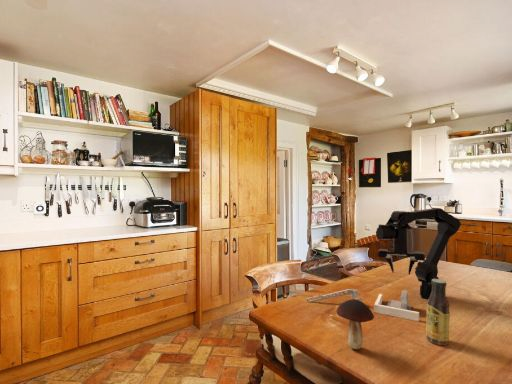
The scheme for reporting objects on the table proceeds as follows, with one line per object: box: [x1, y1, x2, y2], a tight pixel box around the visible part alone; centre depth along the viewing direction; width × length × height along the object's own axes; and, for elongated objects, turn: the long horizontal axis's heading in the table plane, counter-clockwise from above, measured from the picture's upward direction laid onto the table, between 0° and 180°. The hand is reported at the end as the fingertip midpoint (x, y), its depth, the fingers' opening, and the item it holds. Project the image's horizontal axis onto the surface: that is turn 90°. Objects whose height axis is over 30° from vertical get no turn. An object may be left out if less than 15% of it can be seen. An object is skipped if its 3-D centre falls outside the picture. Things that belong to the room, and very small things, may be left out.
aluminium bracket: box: [390, 289, 409, 310], centre depth 117 cm, size 8×6×6 cm
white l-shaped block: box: [373, 293, 420, 322], centre depth 116 cm, size 16×15×3 cm
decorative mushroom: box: [336, 298, 375, 350], centre depth 87 cm, size 11×11×15 cm
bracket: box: [306, 288, 363, 303], centre depth 123 cm, size 3×21×10 cm, turn 80°
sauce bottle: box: [425, 278, 450, 346], centre depth 91 cm, size 6×6×20 cm
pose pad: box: [386, 301, 412, 311], centre depth 116 cm, size 9×11×1 cm
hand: (401, 273), depth 128 cm, fingers open, 6 cm apart
